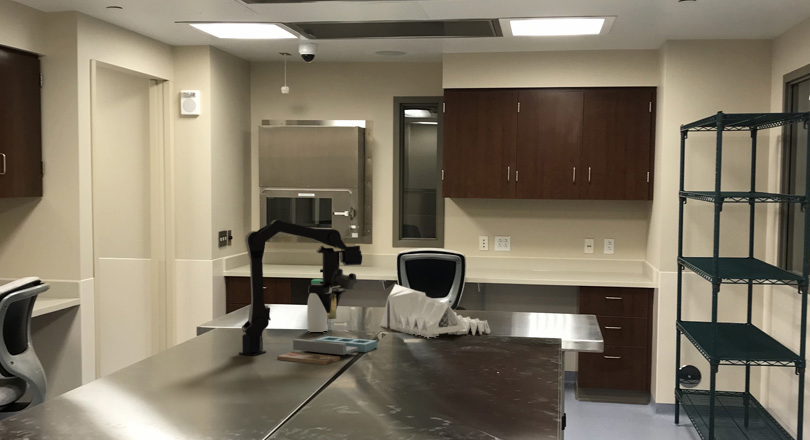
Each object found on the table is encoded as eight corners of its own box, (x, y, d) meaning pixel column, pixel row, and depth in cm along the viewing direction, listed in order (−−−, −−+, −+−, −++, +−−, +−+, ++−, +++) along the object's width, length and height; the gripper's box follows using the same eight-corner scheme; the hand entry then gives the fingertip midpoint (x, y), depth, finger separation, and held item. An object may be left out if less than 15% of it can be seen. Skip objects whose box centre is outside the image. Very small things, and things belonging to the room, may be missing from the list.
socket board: (365, 352, 237) (365, 344, 237) (314, 347, 246) (314, 339, 246) (377, 348, 244) (377, 340, 244) (327, 343, 254) (327, 336, 254)
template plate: (325, 364, 218) (325, 361, 218) (277, 359, 226) (277, 355, 226) (339, 359, 225) (339, 356, 225) (292, 354, 234) (292, 351, 234)
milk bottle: (326, 333, 274) (326, 280, 274) (306, 333, 274) (305, 280, 274) (328, 330, 282) (328, 278, 282) (309, 330, 282) (308, 278, 282)
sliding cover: (343, 354, 226) (343, 344, 226) (293, 349, 235) (293, 339, 235) (357, 349, 234) (357, 339, 234) (309, 345, 243) (309, 335, 243)
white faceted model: (492, 334, 273) (492, 290, 273) (435, 341, 259) (434, 295, 259) (429, 320, 308) (429, 281, 308) (375, 326, 293) (375, 285, 293)
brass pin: (332, 319, 243) (332, 295, 242) (325, 318, 244) (324, 294, 244) (338, 318, 245) (338, 294, 245) (330, 317, 247) (330, 293, 247)
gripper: (335, 268, 233) (335, 317, 233) (365, 265, 249) (366, 310, 249) (307, 267, 238) (307, 315, 238) (338, 264, 254) (339, 308, 254)
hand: (331, 312), depth 245 cm, fingers closed on brass pin, 3 cm apart
